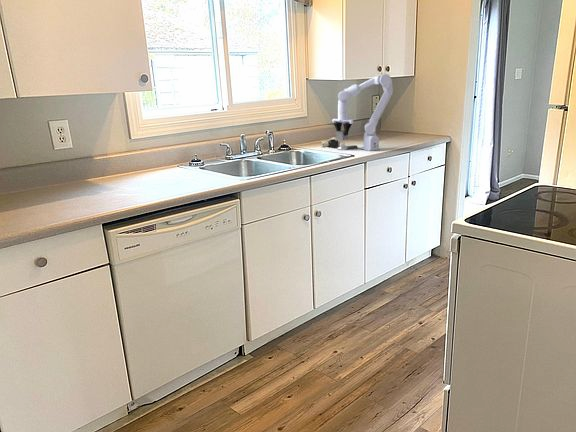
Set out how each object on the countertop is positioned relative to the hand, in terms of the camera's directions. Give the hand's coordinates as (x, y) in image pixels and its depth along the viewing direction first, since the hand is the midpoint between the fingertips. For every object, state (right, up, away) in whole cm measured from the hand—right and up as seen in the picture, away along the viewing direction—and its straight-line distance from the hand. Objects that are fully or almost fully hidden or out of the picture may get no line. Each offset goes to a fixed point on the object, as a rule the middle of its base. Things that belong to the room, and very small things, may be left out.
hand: (342, 135), depth 278 cm
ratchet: (+3, -8, +4) cm, 9 cm away
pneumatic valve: (-12, -3, +14) cm, 19 cm away
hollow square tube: (0, -3, 0) cm, 3 cm away
